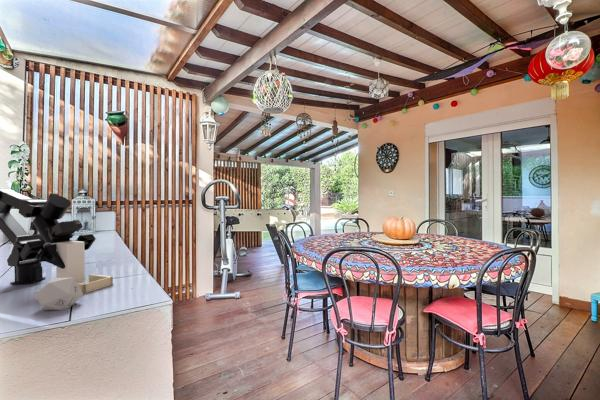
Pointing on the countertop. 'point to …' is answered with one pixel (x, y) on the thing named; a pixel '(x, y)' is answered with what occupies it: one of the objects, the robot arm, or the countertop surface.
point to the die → (59, 294)
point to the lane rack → (95, 283)
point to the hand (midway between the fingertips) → (73, 265)
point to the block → (72, 260)
